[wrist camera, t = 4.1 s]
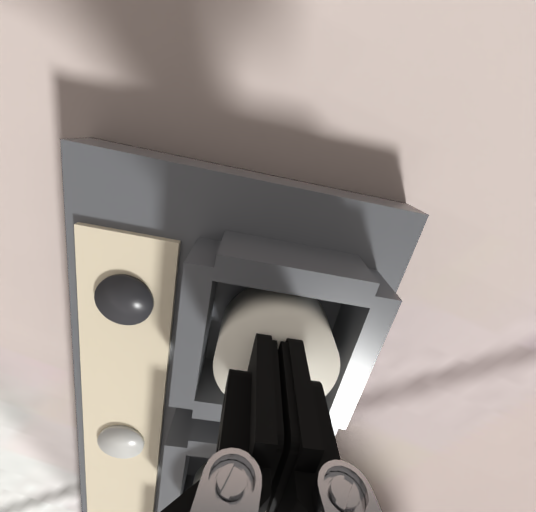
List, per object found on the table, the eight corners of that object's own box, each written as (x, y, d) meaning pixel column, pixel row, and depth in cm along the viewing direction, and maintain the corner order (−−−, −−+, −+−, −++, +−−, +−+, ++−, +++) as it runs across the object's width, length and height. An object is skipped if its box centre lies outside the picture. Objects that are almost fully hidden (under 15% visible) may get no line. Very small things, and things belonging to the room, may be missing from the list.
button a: (340, 292, 12) (356, 327, 10) (311, 375, 14) (320, 421, 12) (230, 272, 12) (222, 305, 10) (214, 361, 14) (205, 405, 12)
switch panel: (406, 203, 14) (468, 235, 10) (271, 551, 25) (273, 635, 21) (90, 137, 12) (4, 141, 8) (99, 535, 24) (64, 621, 20)
